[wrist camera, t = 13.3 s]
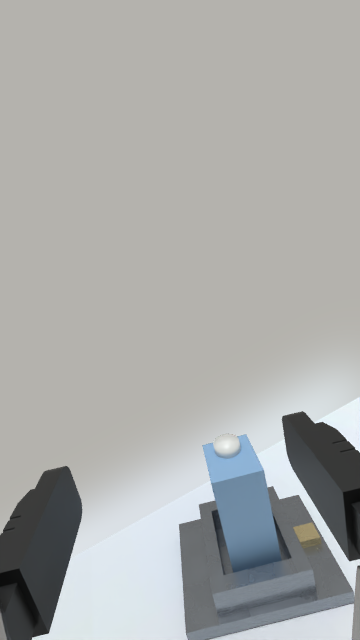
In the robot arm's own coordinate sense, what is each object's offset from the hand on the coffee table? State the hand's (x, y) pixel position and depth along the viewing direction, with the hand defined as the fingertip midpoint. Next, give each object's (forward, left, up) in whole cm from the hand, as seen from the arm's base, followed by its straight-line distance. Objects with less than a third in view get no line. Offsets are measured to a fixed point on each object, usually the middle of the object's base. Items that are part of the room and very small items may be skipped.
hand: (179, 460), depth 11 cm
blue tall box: (+3, +14, -22) cm, 26 cm away
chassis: (+3, +14, -23) cm, 27 cm away
